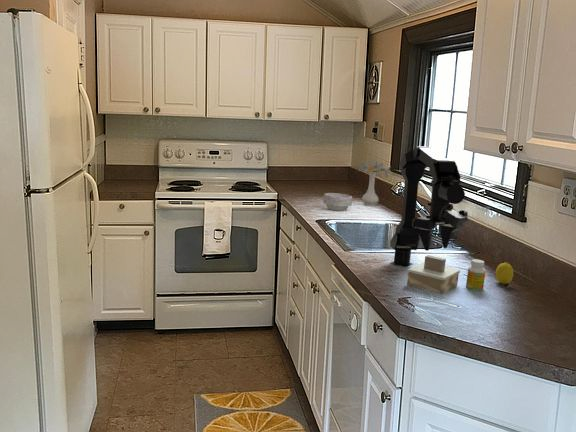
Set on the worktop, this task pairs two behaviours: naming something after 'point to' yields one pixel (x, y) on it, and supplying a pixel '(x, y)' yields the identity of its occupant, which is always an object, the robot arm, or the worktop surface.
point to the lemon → (504, 273)
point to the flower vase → (372, 181)
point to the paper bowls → (337, 201)
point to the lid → (434, 268)
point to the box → (432, 282)
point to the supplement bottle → (476, 275)
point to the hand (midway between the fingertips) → (436, 249)
